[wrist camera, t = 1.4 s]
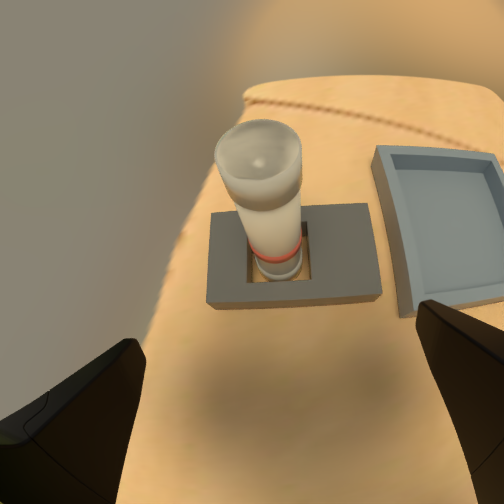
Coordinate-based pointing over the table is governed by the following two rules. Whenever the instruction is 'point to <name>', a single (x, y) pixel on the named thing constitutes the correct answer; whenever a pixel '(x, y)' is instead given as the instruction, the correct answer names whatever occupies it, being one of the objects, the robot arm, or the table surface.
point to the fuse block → (319, 256)
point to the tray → (442, 224)
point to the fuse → (266, 192)
